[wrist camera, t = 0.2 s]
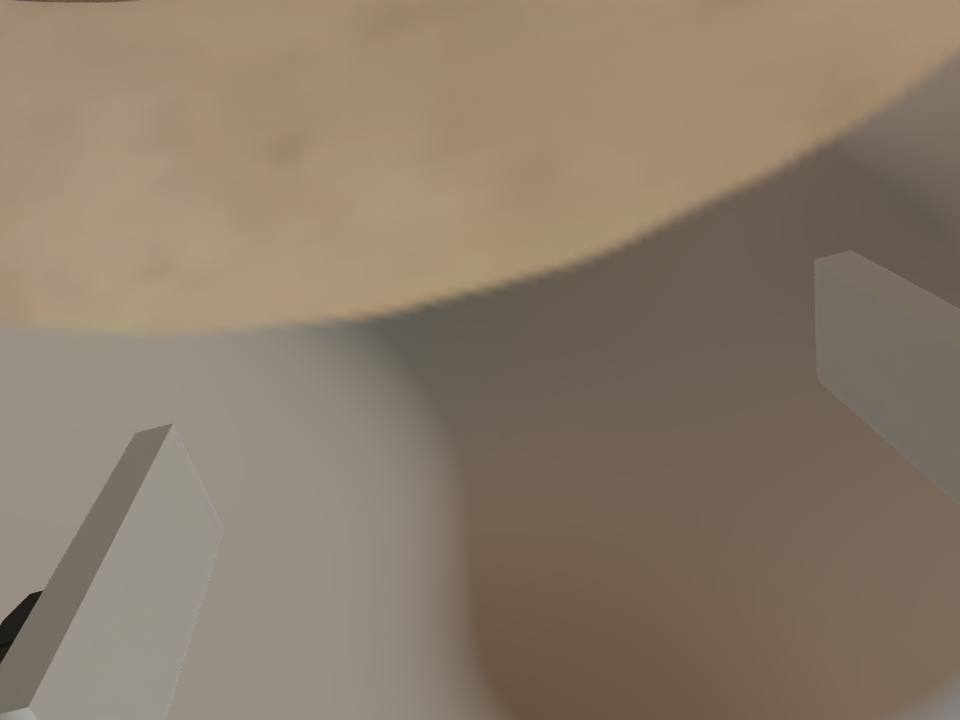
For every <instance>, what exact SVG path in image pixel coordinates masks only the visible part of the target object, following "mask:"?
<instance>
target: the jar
mask: <svg viewBox="0 0 960 720" xmlns="http://www.w3.org/2000/svg"><path fill="white" fill-rule="evenodd" d="M17 1H34V2H127V1H137V0H17Z"/></svg>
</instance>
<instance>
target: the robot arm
mask: <svg viewBox="0 0 960 720" xmlns="http://www.w3.org/2000/svg"><path fill="white" fill-rule="evenodd" d="M814 280H815V321H816V363H817V379H818V380H819V381H820V382H821V383H822V384H823V385H824V386H825V387H827V388H828V389H829V390H830V391H831V392H832V393H833V394H834V395H836V396H837V397H838V398H839V399H840V400H841V401H842V402H843V403H845V404H846V405H847V406H848V407H849V408H850V409H851V410H852V411H854V412H855V413H856V414H857V415H858V416H859V417H860V418H861V419H863V420H864V421H865V422H866V423H867V424H868V425H869V426H870V427H872V428H873V429H874V430H875V431H876V432H877V433H878V434H879V435H881V436H882V437H883V438H884V439H885V440H886V441H887V442H888V443H890V444H891V445H892V446H893V447H894V448H895V449H896V450H897V451H899V452H900V453H901V454H902V455H903V456H904V457H905V458H906V459H908V460H909V461H910V462H911V463H912V464H913V465H915V466H916V467H917V468H918V469H919V470H920V471H921V472H922V473H923V474H925V475H926V476H927V477H928V478H929V479H930V480H931V481H932V482H934V483H935V484H936V485H937V486H938V487H939V488H940V489H941V490H943V491H944V492H945V493H946V494H947V495H948V496H949V497H950V498H952V499H953V500H954V501H955V502H956V503H957V504H958V505H959V506H960V309H958V308H956V307H955V306H953V305H951V304H949V303H947V302H946V301H944V300H942V299H940V298H938V297H936V296H934V295H933V294H931V293H929V292H927V291H925V290H923V289H921V288H920V287H918V286H916V285H914V284H912V283H911V282H909V281H907V280H905V279H903V278H901V277H899V276H898V275H896V274H894V273H892V272H890V271H888V270H887V269H885V268H883V267H881V266H879V265H877V264H876V263H874V262H872V261H870V260H868V259H866V258H865V257H862V256H861V255H859V254H857V253H855V252H853V251H847V252H843V253H839V254H836V255H832V256H828V257H824V258H820V259H816V260H814ZM224 531H225V530H224V527H223V525H222V523H221V521H220V519H219V517H218V515H217V513H216V511H215V509H214V507H213V505H212V503H211V501H210V499H209V497H208V495H207V493H206V490H205V488H204V486H203V485H202V482H201V480H200V478H199V476H198V474H197V472H196V470H195V468H194V466H193V464H192V462H191V460H190V458H189V456H188V454H187V451H186V449H185V447H184V445H183V443H182V442H181V439H180V437H179V435H178V433H177V431H176V429H175V427H174V425H173V424H169V425H165V426H161V427H157V428H154V429H149V430H145V431H141V432H138V433H135V435H134V436H133V438H132V440H131V442H130V443H129V445H128V447H127V448H126V450H125V452H124V454H123V455H122V457H121V459H120V461H119V462H118V464H117V466H116V467H115V469H114V471H113V472H112V474H111V476H110V477H109V479H108V481H107V483H106V484H105V486H104V488H103V489H102V491H101V493H100V495H99V496H98V498H97V500H96V502H95V503H94V505H93V507H92V509H91V510H90V512H89V514H88V515H87V517H86V519H85V520H84V522H83V524H82V525H81V527H80V529H79V531H78V532H77V534H76V536H75V537H74V539H73V541H72V543H71V544H70V546H69V548H68V549H67V551H66V553H65V555H64V556H63V558H62V560H61V561H60V563H59V565H58V567H57V568H56V570H55V572H54V573H53V575H52V577H51V579H50V580H49V582H48V584H47V585H46V587H45V589H44V590H43V591H40V592H36V593H32V594H30V595H29V596H28V597H27V598H25V599H24V600H23V601H22V602H21V604H19V605H18V606H17V608H16V609H14V611H12V612H11V613H10V614H9V615H8V616H7V617H6V618H5V619H4V620H3V622H2V623H1V625H0V720H166V718H167V715H168V712H169V709H170V705H171V702H172V699H173V696H174V693H175V689H176V686H177V683H178V680H179V676H180V673H181V670H182V667H183V663H184V660H185V657H186V654H187V650H188V647H189V644H190V641H191V638H192V634H193V631H194V628H195V624H196V621H197V618H198V615H199V612H200V608H201V605H202V602H203V599H204V595H205V592H206V589H207V586H208V583H209V579H210V576H211V573H212V570H213V566H214V563H215V560H216V557H217V553H218V550H219V547H220V544H221V541H222V537H223V534H224Z"/></svg>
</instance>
